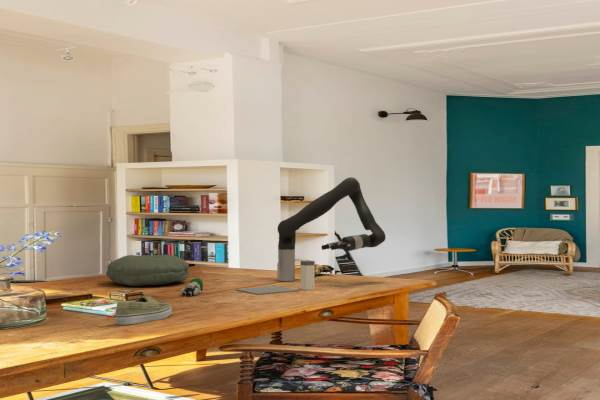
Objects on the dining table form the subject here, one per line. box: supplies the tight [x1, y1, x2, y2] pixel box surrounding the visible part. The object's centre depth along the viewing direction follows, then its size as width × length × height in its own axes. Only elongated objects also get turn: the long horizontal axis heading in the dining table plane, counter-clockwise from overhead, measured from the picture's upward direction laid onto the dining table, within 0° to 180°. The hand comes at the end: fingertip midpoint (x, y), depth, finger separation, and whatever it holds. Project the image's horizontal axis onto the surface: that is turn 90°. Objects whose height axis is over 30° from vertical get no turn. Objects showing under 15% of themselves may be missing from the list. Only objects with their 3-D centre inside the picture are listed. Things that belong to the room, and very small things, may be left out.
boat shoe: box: [114, 295, 173, 326], centre depth 275 cm, size 10×29×9 cm, turn 155°
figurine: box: [315, 264, 335, 277], centre depth 430 cm, size 19×6×30 cm
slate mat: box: [235, 285, 300, 296], centre depth 360 cm, size 20×24×1 cm
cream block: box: [299, 259, 316, 291], centre depth 366 cm, size 5×5×14 cm
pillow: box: [105, 254, 190, 287], centre depth 388 cm, size 43×15×41 cm
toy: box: [180, 277, 204, 298], centre depth 345 cm, size 9×7×15 cm
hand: (326, 247), depth 374 cm, fingers open, 8 cm apart
